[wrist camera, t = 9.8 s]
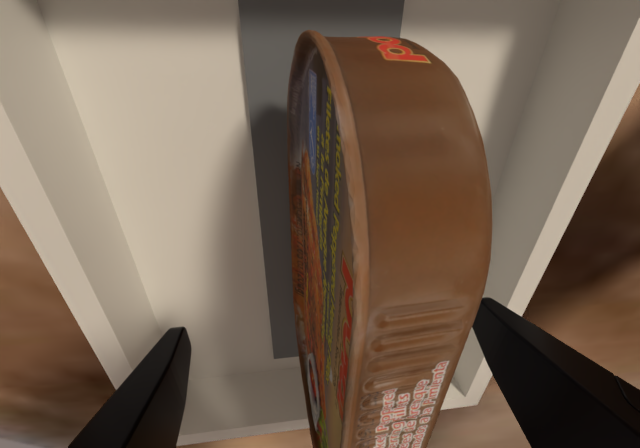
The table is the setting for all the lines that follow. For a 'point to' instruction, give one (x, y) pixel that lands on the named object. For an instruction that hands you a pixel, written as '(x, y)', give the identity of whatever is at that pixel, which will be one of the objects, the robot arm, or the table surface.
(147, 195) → the tray
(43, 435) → the table surface
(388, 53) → the tin
